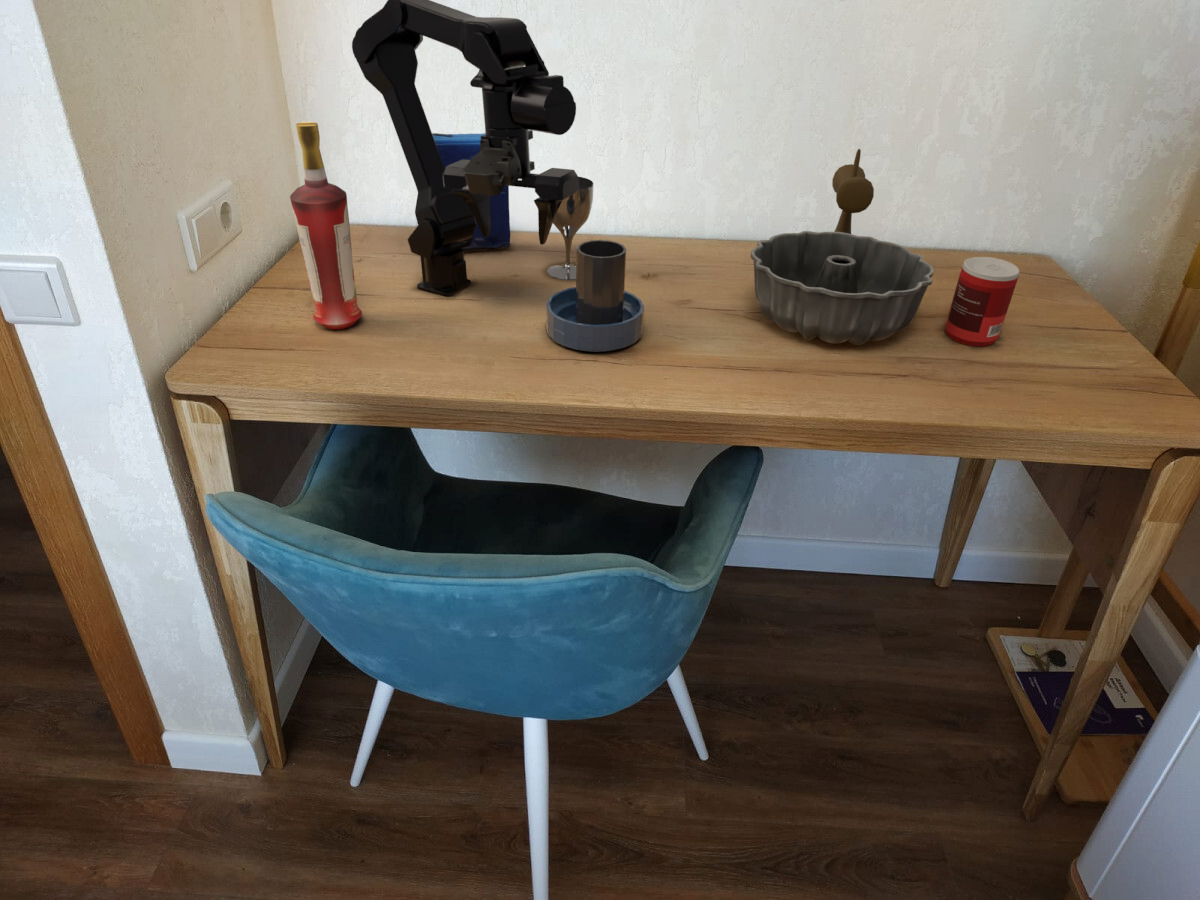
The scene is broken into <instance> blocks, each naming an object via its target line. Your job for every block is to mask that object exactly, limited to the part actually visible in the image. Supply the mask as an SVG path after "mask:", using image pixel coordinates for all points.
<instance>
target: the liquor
mask: <svg viewBox="0 0 1200 900" xmlns="http://www.w3.org/2000/svg"><path fill="white" fill-rule="evenodd" d="M295 126H296V132H297V139H298V142H299V144H300V147H301V153H302V167H303V178H304V179H303V180H304V184H303V185H301V186H299V187H297V188H296V189H295V190H294V191H293V192H292V193H291V194H290V196H289V199H290V203H291V207H292V212H293V216H294V221H295V225H296V231H297V235H298V239H299V243H300V247H301V251H302V255H303V259H304V263H305V267H306V272H307V276H308V281H309V285H310V290H311V295H312V301H313V305H314V310H315V311H314V314H313V317H312V319H313V320H314V321H315V322H317V323H318V324H320V326H323V327H324V328H326V329H328V330H335V331H336V330H345V329H348V328H350V327H352V326H353V325H355V323H356V322H358V320H359V319H360V318H361V316H362V315H363V311H362V309H360V307H359V306H358V297H357V296H358V295H357V290H356V289H357V288H356V281H355V271H354V261H353V251H352V249H353V248H352V238H351V237H352V236H351V235H352V233H351V226H350V225H351V224H350V215H349V208H348V207H349V205H348V196H347V192H346V190H344V189H342V188H341V187H339V186H338V185H336V184H333V183H329V181H328V176H327V173H326V169H325V165H324V161H323V157H322V153H321V149H320V145H321V143H320V142H321V138H320V137H321V136H320V131H319V124H318V122H315V121H302V122H301V121H300V122H298V123H296V124H295Z"/></svg>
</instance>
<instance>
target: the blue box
mask: <svg viewBox="0 0 1200 900" xmlns="http://www.w3.org/2000/svg"><path fill="white" fill-rule="evenodd" d="M432 135H433V138H434V140H435V143H436V146H437V149H438V152H439V155H440V157H441V160H442V163H443V166H444V169H445V167H446V166H448V165H450V164H453V163H455V162H458V161H460V160H462V159H464V160H471V159H472V158H473V157H474V156H475V155H476V154H478V153H479V151H480V140H481V136H482V135H485V132H483V133H435V132H432ZM510 220H511V219H510V186H507V185H505V187H504V188H503V191H502V192H501V193H500V194H499V195H496V196H490V234H489V236H488V237H483V235H482V232H481V230H480V228H479V226H478V224H477V222H476V228H475V229H474V234H473V239H472V243H471V246H470V247H465V248H462V250H463V253H465V252H466V253H467V252H468V253H469V252H479V251H496V250H500V249H504V248H510V246H511V223H510ZM475 221H476V219H475Z"/></svg>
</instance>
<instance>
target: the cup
mask: <svg viewBox="0 0 1200 900" xmlns="http://www.w3.org/2000/svg"><path fill="white" fill-rule="evenodd" d="M575 251H576V253H575V255H576V256H575V257H576V261H575V262H576V263H575V264H576V279H575V287H576V323H581V324H590V325H604V324H613V323H619V322H623V313H624V291H626V289H625V288H626V268H627V247H626V246H625V245H624V244H622V243H620V242H617V241H614V240H607V239H594V240H586V241H583V242H581V243H579V244H578V245H577V247H576V249H575Z"/></svg>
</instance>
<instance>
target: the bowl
mask: <svg viewBox="0 0 1200 900" xmlns="http://www.w3.org/2000/svg"><path fill="white" fill-rule="evenodd" d="M545 315H546V316H545V320H546V321H545V324H546V325H545V326H546V327H545V328H546V332H547V335H548V337H550V339H551V340H552V341H553V342H555V343H558V344H560V346H563V347H566V348H570V349H572V350H576V351H580V352H581V351H582V352H589V353H601V352H602V353H605V352H612V351H616V350H621V349H624V348H627V347H629V346H632V345H633V344H635V343H636V342H638V341H639V340H640V339H641V337H642V334H643V332H644V318H645V317H644V315H645V306H644V303H643V301H642V299H641V298H639V297H638V295H636V294H634V293H632V292H629V291H627V290H625V291H624V313H623V322H619V323H613V324H604V325H590V324H581V323H576V286H574V287H568V288H565V289H561V290H559V291H557V292H555V293H554V294H552V295H550V296H549V298H548V299H547V300H546V303H545Z"/></svg>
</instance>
